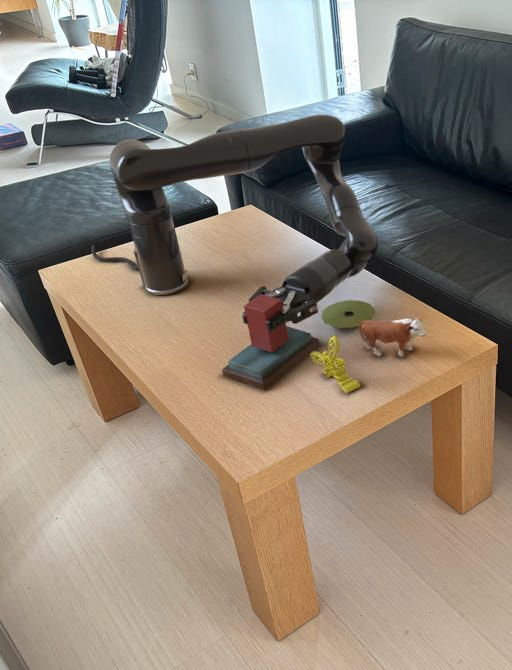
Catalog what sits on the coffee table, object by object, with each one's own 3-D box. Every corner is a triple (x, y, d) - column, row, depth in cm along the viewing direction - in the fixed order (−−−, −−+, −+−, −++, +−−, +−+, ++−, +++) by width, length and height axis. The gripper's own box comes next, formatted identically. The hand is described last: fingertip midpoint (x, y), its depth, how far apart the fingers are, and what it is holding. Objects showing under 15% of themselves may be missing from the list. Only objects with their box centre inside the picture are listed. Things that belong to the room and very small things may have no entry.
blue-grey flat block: (223, 376, 139) (220, 362, 137) (280, 333, 151) (278, 320, 150) (264, 390, 135) (261, 376, 133) (319, 345, 147) (317, 331, 145)
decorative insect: (330, 402, 140) (306, 355, 140) (344, 395, 142) (320, 348, 142) (356, 387, 129) (330, 337, 129) (371, 380, 131) (345, 330, 131)
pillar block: (251, 346, 140) (243, 305, 135) (268, 333, 144) (261, 293, 139) (272, 352, 138) (264, 311, 133) (288, 339, 142) (281, 299, 137)
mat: (347, 341, 148) (346, 333, 147) (311, 322, 154) (310, 314, 153) (387, 319, 155) (386, 311, 154) (351, 302, 161) (350, 294, 160)
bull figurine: (426, 362, 141) (424, 326, 136) (358, 356, 143) (355, 320, 139) (430, 349, 145) (429, 314, 140) (365, 343, 147) (361, 308, 142)
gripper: (342, 307, 147) (289, 349, 135) (286, 292, 153) (230, 331, 141) (338, 274, 143) (283, 314, 131) (280, 259, 149) (222, 297, 137)
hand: (256, 323), depth 136 cm, fingers closed on pillar block, 5 cm apart
